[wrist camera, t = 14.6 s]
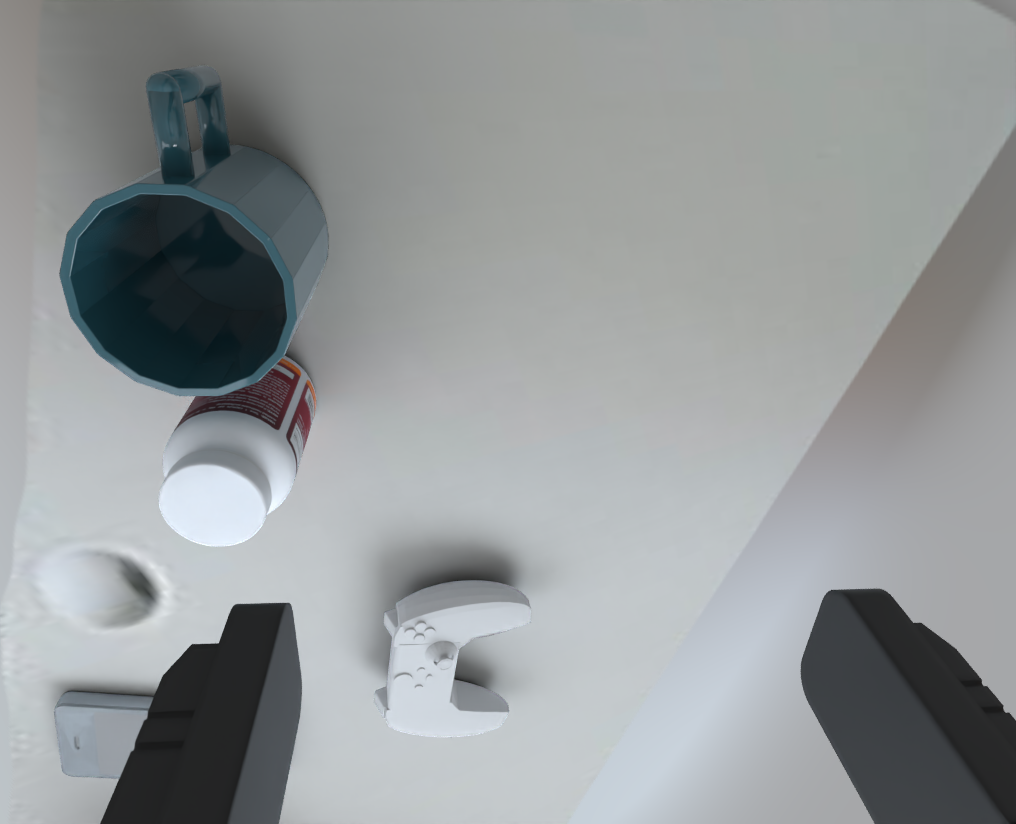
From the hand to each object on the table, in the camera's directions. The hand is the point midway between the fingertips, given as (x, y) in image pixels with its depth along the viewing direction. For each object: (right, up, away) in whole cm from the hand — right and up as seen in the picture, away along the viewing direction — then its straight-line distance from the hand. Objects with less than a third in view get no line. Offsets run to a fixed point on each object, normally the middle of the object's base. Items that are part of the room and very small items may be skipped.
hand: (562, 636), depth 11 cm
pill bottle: (-15, +5, +31) cm, 35 cm away
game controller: (-5, -14, +42) cm, 44 cm away
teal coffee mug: (-15, +14, +25) cm, 32 cm away
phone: (-27, -21, +44) cm, 56 cm away
